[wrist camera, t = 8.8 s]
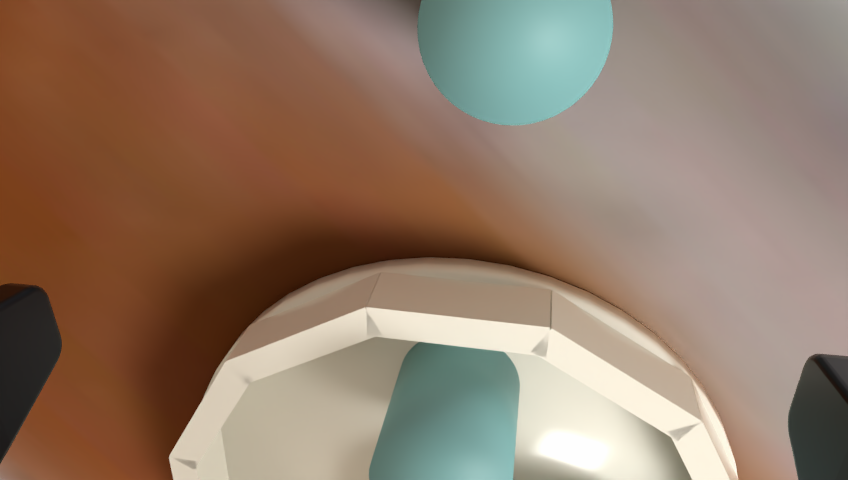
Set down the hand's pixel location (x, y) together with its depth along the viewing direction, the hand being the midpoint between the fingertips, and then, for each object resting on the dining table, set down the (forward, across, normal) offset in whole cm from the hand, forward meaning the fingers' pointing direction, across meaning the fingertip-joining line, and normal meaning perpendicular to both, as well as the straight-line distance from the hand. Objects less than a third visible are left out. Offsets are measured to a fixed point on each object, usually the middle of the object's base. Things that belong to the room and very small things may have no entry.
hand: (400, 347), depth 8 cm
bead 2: (+12, 0, +10) cm, 16 cm away
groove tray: (+12, 0, +16) cm, 20 cm away
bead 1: (+13, -1, -2) cm, 13 cm away
